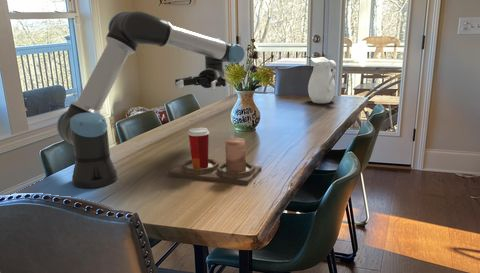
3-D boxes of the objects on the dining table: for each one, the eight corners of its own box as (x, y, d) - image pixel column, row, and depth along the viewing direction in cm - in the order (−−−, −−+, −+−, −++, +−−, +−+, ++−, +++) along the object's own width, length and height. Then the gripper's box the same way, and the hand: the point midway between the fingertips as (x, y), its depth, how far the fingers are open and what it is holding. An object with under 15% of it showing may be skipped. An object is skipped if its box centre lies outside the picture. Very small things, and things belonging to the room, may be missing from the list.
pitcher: (303, 100, 291) (303, 57, 283) (326, 98, 295) (327, 56, 288) (320, 107, 269) (321, 60, 261) (345, 105, 273) (347, 59, 266)
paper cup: (211, 162, 167) (209, 126, 163) (210, 169, 160) (208, 132, 156) (190, 163, 167) (188, 127, 163) (188, 170, 159) (186, 132, 156)
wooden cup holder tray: (247, 184, 150) (246, 148, 146) (168, 176, 160) (166, 141, 157) (261, 170, 163) (260, 136, 160) (188, 163, 173) (186, 131, 170)
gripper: (238, 86, 185) (227, 96, 165) (180, 86, 190) (163, 95, 170) (237, 68, 183) (227, 75, 163) (179, 69, 188) (162, 75, 168)
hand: (194, 85), depth 166 cm, fingers open, 13 cm apart
